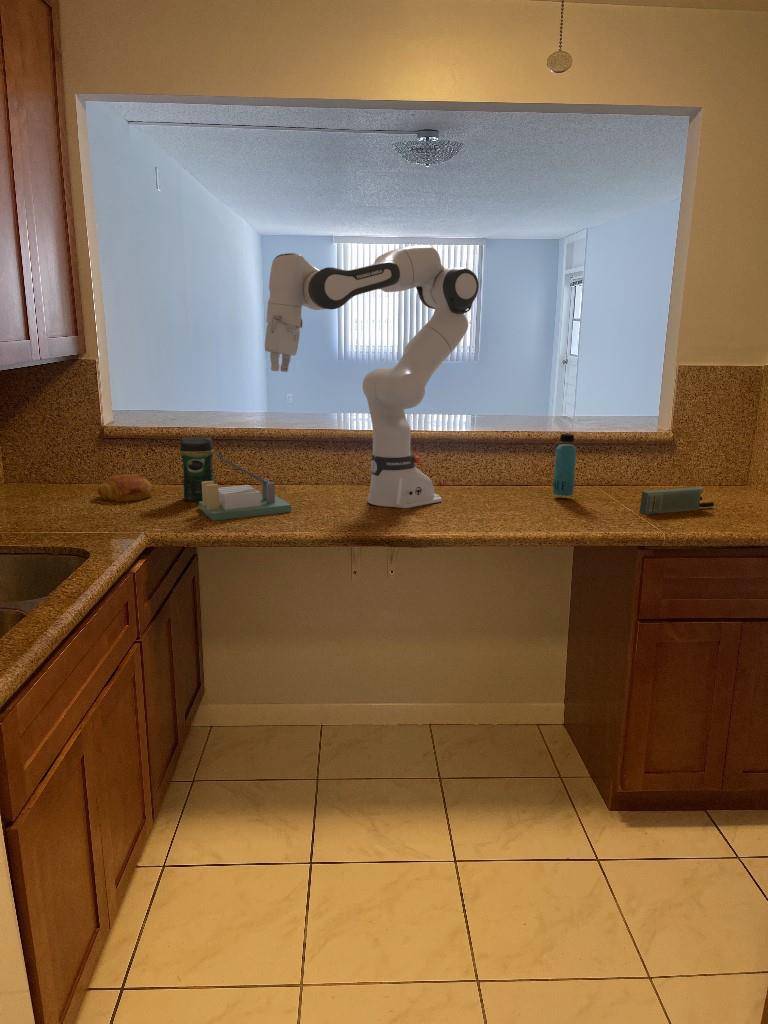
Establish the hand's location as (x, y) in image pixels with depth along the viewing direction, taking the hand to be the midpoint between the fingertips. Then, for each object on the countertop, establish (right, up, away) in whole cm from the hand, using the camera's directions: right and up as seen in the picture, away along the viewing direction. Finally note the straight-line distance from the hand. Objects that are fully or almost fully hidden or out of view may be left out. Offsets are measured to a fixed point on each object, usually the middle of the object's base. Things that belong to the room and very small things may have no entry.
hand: (279, 371), depth 184 cm
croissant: (-50, -33, +26) cm, 65 cm away
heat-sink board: (-12, -37, +11) cm, 40 cm away
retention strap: (-12, -26, +9) cm, 30 cm away
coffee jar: (-28, -34, +24) cm, 50 cm away
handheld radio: (+113, -37, +17) cm, 120 cm away
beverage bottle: (+83, -33, +30) cm, 94 cm away
